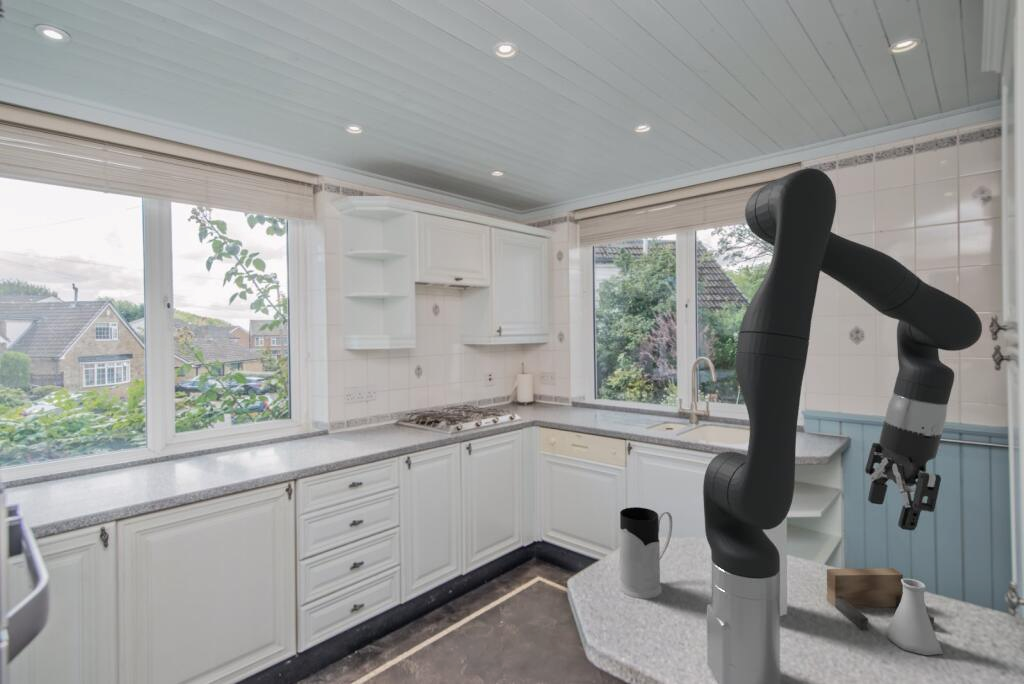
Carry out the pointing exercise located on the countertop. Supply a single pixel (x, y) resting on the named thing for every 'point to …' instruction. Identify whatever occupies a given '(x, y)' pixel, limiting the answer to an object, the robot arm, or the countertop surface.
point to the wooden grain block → (864, 591)
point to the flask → (913, 621)
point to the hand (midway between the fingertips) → (889, 515)
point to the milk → (781, 559)
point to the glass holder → (641, 552)
